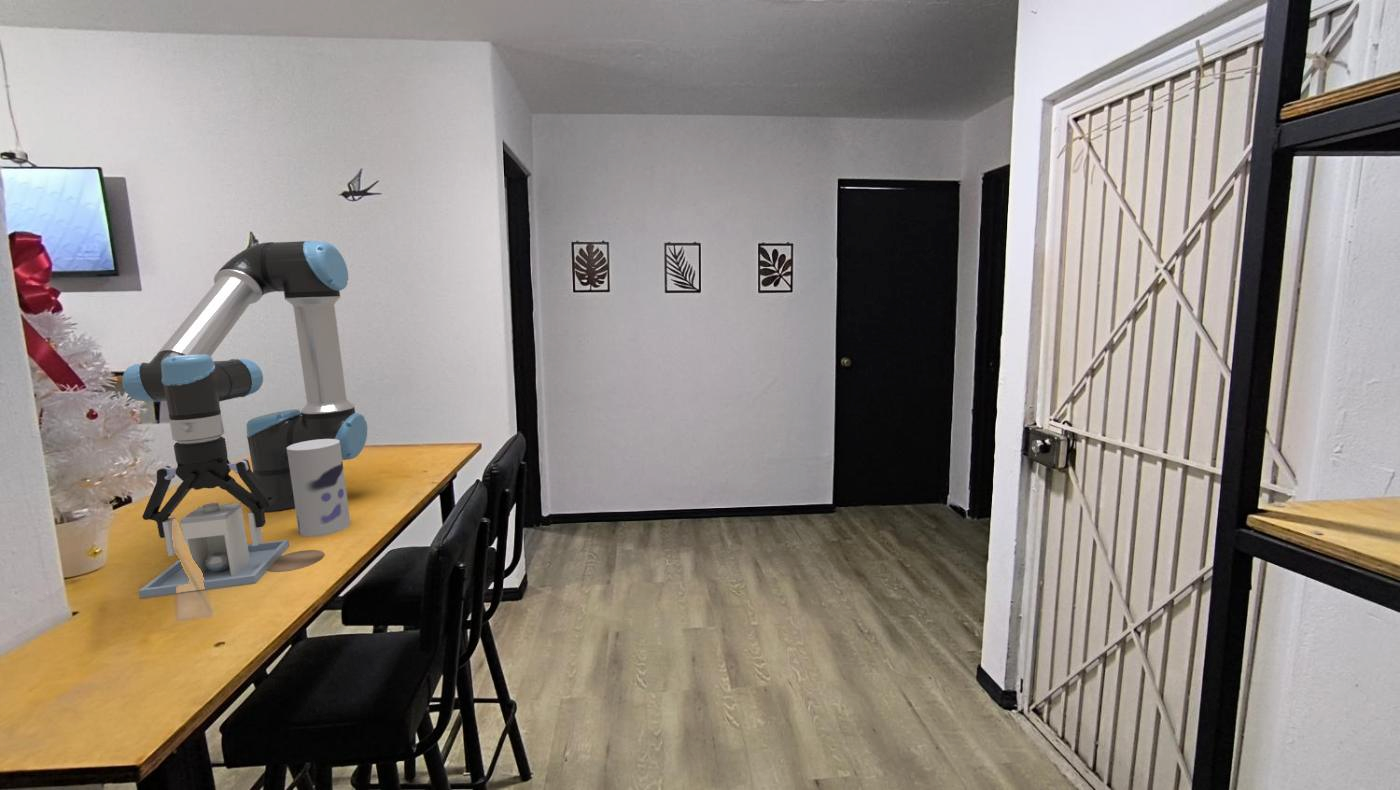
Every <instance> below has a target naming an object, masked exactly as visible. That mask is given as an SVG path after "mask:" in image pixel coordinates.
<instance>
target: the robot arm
mask: <svg viewBox="0 0 1400 790" xmlns="http://www.w3.org/2000/svg"><path fill="white" fill-rule="evenodd" d="M348 281H349V271H348V268H347V264H346V260H345V258H344V257H343V256H342V254H341V252H340V251H339V250H338V249H337V247H335V246H334V245H333V244H331V243H329V242H326V241H317V240H316V241H315V240H304V241H303V240H302V241H300V240H299V241H282V242H281V241H280V242H272V241H270V242H269V241H268V242H262V243H261V242H260V243H257V244H255V245H254V244H253V245H252V246H249V247H247V248H246V249H244V250H242V251H240V252H239V253H237V254H236V255H235V256H233V257H232V258H230V259H229V260H228V261H227V262H226V263H225V264H224V265H222V267H221V268H220V269H219V270H218V271H217V272H216V274H215V275H214V277H213V282H214V284H213V285H212V287H211V288H210V289H209V290H208V292H207V293H206V294H205V295H204V296H203V298H202V299H201V300H200V302H198V304H197V305H196V306H195V308H194V309H192V311H191V312H190V313H189V315H187V317H186V318H185V319H184V321H183V322H182V323H181V324H180V325H179V327H178V328H177V329H176V330H175V332H174V333H173V334H172V335H171V337H169V339H168V340H167V341H166V343H164V345H163V346H162V347H161V349H160V350H159V351H158V352H157V354H156V355H155V356H154V357H152V359H151V361H149V362H140V363H136V364H132V365H131V366H130V365H129V366H128V367H127V368H125V371H124V372H123V375H122V381H121V383H122V388H123V390H124V391H125V394H127V395H128V396H129V397H130V398H131V399H133V400H135V401H139V402H155V403H159V402H166V405H167V410H168V419H169V427H170V432H171V438H172V440H173V441H175V443H174V444H173V450H174V451H173V452H174V455H175V456H174V457H175V461H176V464H177V466H176V467H171V466H169V465H166V466H163V467H161V468H160V469H157V471H156V483H155V486H154V487H153V489H152V493H151V495H150V497H149V499H148V502H147V505H146V507H145V509H144V511H143V514H142V519H143V520H145V521H149V520H150V521H154V522H156V525H157V530H158V535H159V538H160V539H165V545H166V550H167V556H168V557H172V556H175V554H177V553H175V551H174V547H173V540H172V521H173V519H175V520H176V517H175V516H174V517H171V516H172V513H174V511H175V510H176V509H177V507H178V506H179V504H180V503H181V502H182V500H184V499H185V497H186V495H187V494H188V493H189V492H190V491H191V490H192V489H194V490H195V491H196V490H199V491H200V490H202V489H215V488H217V487H218V488H220V489H221V490H225V491H226V492H227V493H229V494H230V495H231V496H233V498H235V499H237V501H239V503H241V504H242V505H244V506H246V507H247V508H248V509H250V511H249V512H248V513H247V516H248V525H249V531H250V536H251V537H250V538H251V544H253V546H257V545H259V544H260V543H263V541H264V540H263V532H262V527H264V525H266V516H265V515H266V514H265V513H266V512H277V511H284V510H288V509H289V510H290V509H295V502H294V495H293V488H292V482H291V475H290V468H289V461H288V454H287V447H288V446H290V445H292V444H296V443H299V442H304V441H310V440H318V439H337V440H339V441H340V446H341V454H342V461H349V460H353V459H355V458H357V457H358V456H359V455H360V453H361V452H362V451H363V449H364V447H365V445H366V442H367V439H368V423H367V420H366V419H365V416H364V415H362V414H361V413H359V412H356V408H355V405H354V403H352V402H351V401H349V400H348V399H347V391H346V385H345V384H346V383H345V377H344V368H343V360H342V352H341V346H340V345H341V344H340V338H339V332H338V331H339V330H338V323H337V314H336V307H335V305H336V303H337V301H339V299H341V292H340V291H342V290H344V289H346V287H347V286H348ZM275 292H283V295H284V300H285V301H287V302H288V303H289V304H291V306H292V307H293V313H294V321H295V327H296V332H297V333H296V335H297V341H298V347H299V355H300V362H301V363H300V364H301V370H302V377H303V383H304V392H305V398H306V404H305V406H304V407H303V408H302V409H301V410H300V409H289V410H287V409H286V410H282V411H276V412H273V413H267V414H263V415H259V416H255V417H253V418H251V419H250V420H248V421H247V423H246V439H247V442H248V450H249V455H250V456H249V457H250V461H249V460H248V459H242V460H240V461H237V462H232V463H231V462H230V460H229V459H228V450H227V443H226V438H225V437H224V436H222V435H224V434H225V429H224V424H223V417H222V411H221V406H220V404H221V403H220V402H223V401H227V400H232V399H237V398H245V397H246V396H250V395H252V394H254V393H256V392H258V391H259V390H260V388H261V387H262V385H263V381H264V375H263V371H262V369H261V368H260V366H259V365H258V364H257V363H255V362H254V361H252V360H250V359H246V358H231V359H228V360H216V361H215V360H213V357H212V355H214V353H215V352H216V350H217V349H218V348H219V346H220V344H222V342H223V341H224V339H225V338H226V337H227V336H228V334H229V333H230V331H231V330H232V329H233V327H234V326H235V325H236V323H237V322H238V321H239V320H240V318H241V317H242V315H243V314H244V313H245V311H246V310H247V309H248V308H249V307H250V304H255V303H257V302H258V301H260V300H261V299H262V297H263V296H264V295H267V294H270V293H275ZM249 462H251V465H250V463H249ZM251 467H252V469H251ZM231 471H233V472H234V473H235V474H237V475H238V476H239V478H240V479H241V480H242V482H243V484H244V485H245V486H246V487H247V488H248V490H249V491H248V490H247V489H246V488H245V487H244V486H242V485H241V484H240V483H238V482H237V481H236V479H235V478H234V477H233V476H231V475H230V472H231ZM175 476H177V477H178V479H180V480H181V481H182V482H181V483H180V484H179V486H178V487H177V489H176V491H175V492H174V493H173V494H172V496H171V497H170V498H169V500H168V501H167V502H166V503H165V504H164V506H163V507H162V509H161V506H162V504H163V501H164V499H165V496H166V494H167V492H168V489H169V487H170V485H171V483H172V479H174V478H175ZM160 509H161V510H160Z"/></svg>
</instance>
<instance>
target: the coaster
mask: <svg viewBox="0 0 1400 790" xmlns="http://www.w3.org/2000/svg"><path fill="white" fill-rule="evenodd" d="M324 558H325V552H323V550H317V549H307V550H306V549H305V550H299V551H294V552H289V553H287V554H282V555H281V556H280V557H279V558H278V559H277V560H276V561H275V563H274V564H273V565H272V566H271V567H270V568H269V569H268V570H267V572H272V573H286V572H291V571H296V570H301V569H304V568H308V567H310V566H312V565H314V564H317V563H319V562H320V561H321V560H323V559H324Z"/></svg>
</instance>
